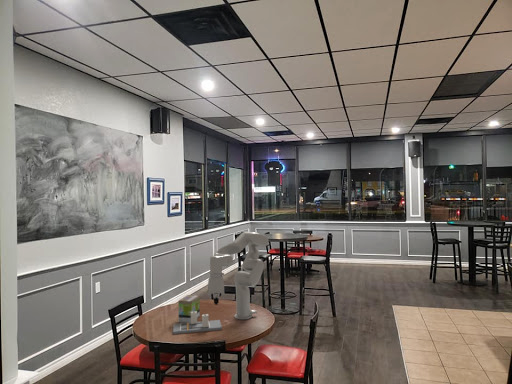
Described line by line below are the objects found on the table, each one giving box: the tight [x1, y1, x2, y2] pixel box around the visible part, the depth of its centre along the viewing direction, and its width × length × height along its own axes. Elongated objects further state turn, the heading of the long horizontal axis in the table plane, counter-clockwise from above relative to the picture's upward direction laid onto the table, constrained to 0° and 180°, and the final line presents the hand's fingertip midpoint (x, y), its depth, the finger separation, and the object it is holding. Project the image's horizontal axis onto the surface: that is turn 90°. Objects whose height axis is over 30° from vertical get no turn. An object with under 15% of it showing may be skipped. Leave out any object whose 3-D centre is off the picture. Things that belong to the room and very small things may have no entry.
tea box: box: [178, 294, 201, 323], centre depth 242 cm, size 15×10×15 cm, turn 168°
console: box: [172, 319, 223, 335], centre depth 225 cm, size 30×14×2 cm, turn 101°
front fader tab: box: [201, 313, 210, 327], centre depth 222 cm, size 4×3×7 cm
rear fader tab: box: [191, 311, 198, 324], centre depth 229 cm, size 4×3×7 cm
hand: (216, 304), depth 223 cm, fingers closed
